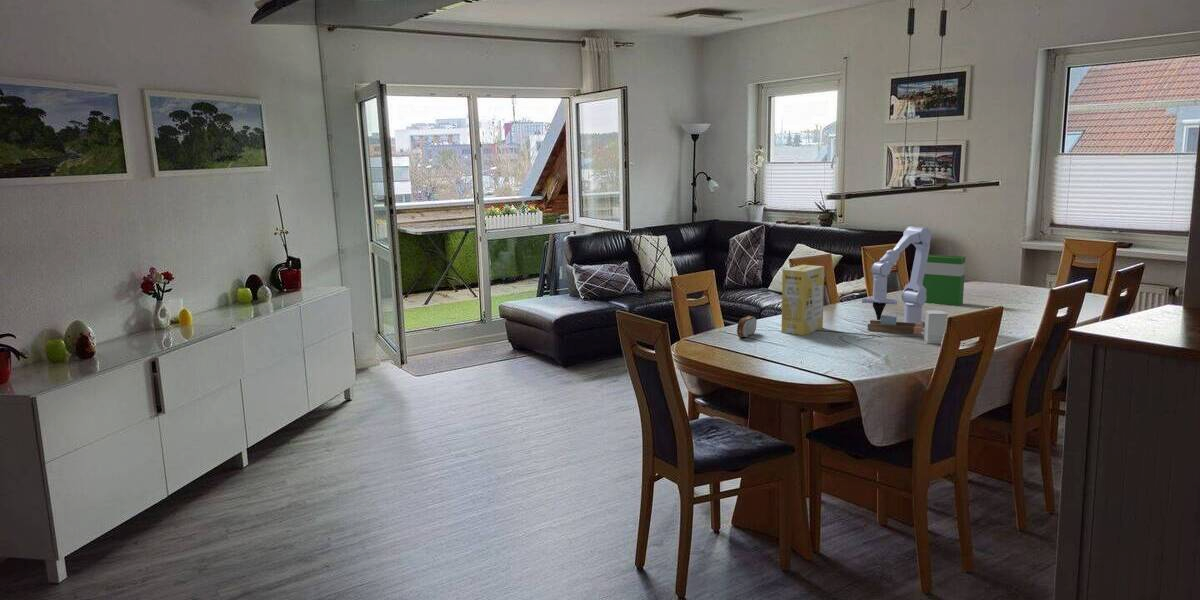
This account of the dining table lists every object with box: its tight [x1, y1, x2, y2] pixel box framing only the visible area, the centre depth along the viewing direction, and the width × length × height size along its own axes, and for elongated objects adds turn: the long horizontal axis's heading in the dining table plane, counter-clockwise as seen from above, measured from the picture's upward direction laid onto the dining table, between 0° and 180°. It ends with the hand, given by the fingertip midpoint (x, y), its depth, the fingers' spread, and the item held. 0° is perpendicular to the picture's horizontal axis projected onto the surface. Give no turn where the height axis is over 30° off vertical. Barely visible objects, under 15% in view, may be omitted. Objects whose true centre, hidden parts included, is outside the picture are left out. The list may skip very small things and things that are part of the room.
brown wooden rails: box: [867, 319, 924, 335], centre depth 356 cm, size 9×22×3 cm, turn 65°
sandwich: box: [736, 315, 758, 338], centre depth 352 cm, size 15×3×8 cm, turn 145°
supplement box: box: [923, 309, 948, 345], centre depth 333 cm, size 7×7×13 cm
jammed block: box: [880, 314, 898, 326], centre depth 357 cm, size 6×6×6 cm
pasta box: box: [781, 264, 825, 336], centre depth 359 cm, size 18×10×28 cm, turn 138°
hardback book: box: [922, 254, 966, 307], centre depth 411 cm, size 18×7×24 cm, turn 52°
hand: (878, 319), depth 358 cm, fingers closed
